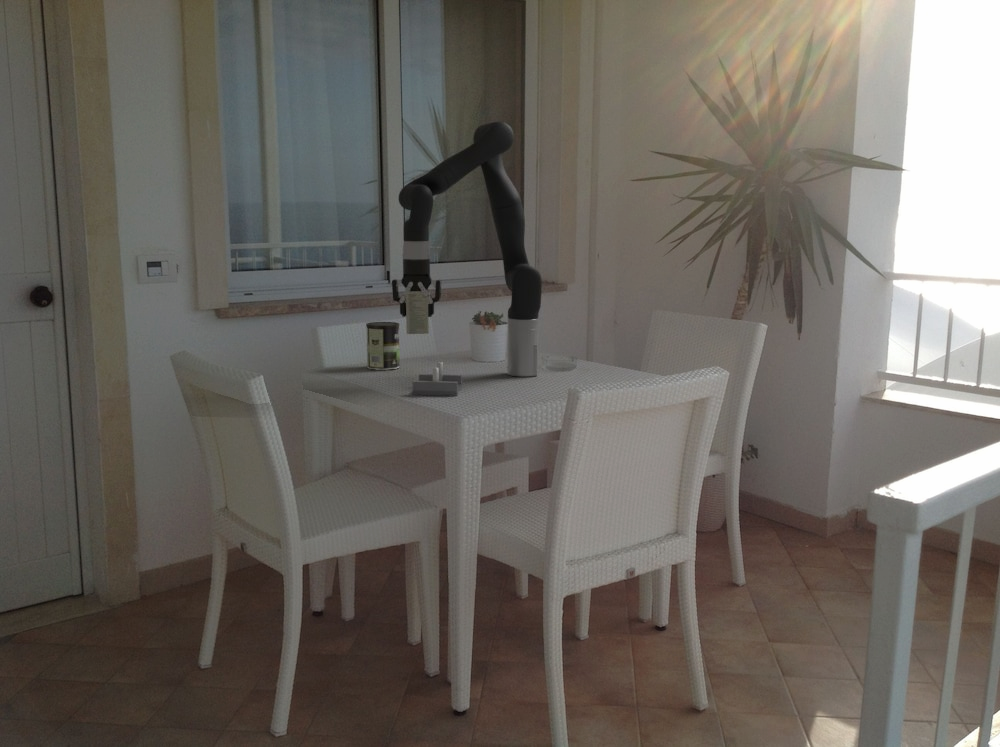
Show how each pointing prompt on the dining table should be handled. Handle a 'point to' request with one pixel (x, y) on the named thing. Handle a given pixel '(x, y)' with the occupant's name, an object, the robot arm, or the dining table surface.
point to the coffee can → (382, 345)
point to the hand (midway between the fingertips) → (417, 316)
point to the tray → (437, 383)
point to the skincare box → (416, 313)
